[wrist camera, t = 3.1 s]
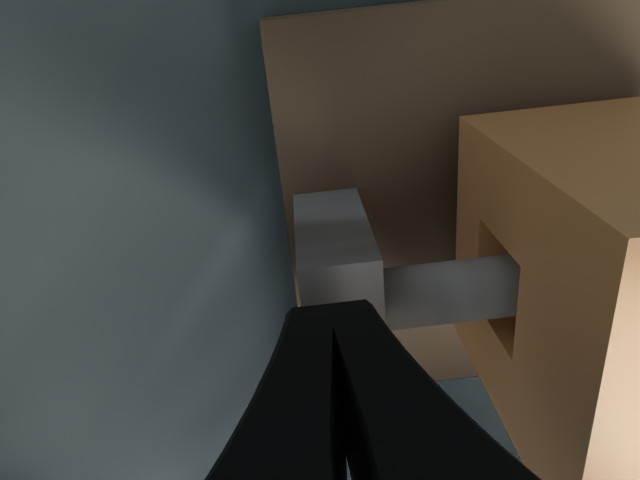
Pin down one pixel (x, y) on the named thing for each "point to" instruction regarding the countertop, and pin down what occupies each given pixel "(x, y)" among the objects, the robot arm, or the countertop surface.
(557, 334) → the sleeve
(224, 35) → the countertop surface
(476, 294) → the rail stand
